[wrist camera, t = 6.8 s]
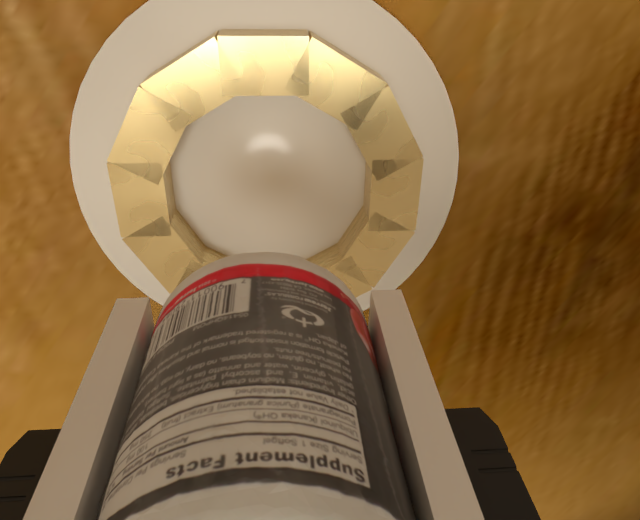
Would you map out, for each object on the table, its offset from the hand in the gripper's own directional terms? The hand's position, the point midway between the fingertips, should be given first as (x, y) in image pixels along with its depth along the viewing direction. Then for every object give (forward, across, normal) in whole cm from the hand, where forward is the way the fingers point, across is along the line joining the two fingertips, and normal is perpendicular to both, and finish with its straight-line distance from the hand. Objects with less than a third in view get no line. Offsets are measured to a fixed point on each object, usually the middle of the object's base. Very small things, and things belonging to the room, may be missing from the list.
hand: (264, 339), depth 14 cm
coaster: (+11, 0, 0) cm, 11 cm away
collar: (+11, 0, 0) cm, 11 cm away
